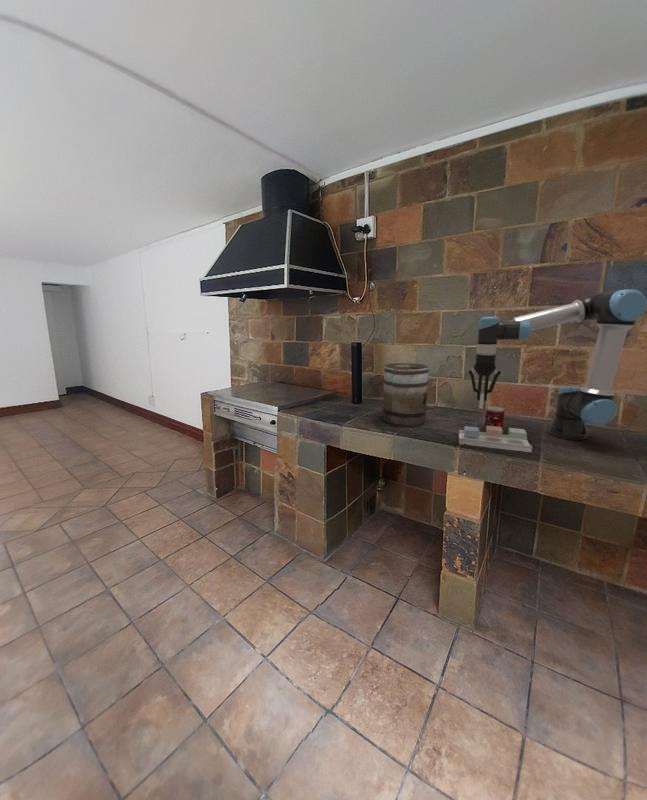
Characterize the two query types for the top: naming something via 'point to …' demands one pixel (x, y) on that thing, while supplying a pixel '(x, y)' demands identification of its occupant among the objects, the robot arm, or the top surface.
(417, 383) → the barrel
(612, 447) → the top surface
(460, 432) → the keypad base
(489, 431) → the key
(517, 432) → the key
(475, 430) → the key
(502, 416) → the canned food
